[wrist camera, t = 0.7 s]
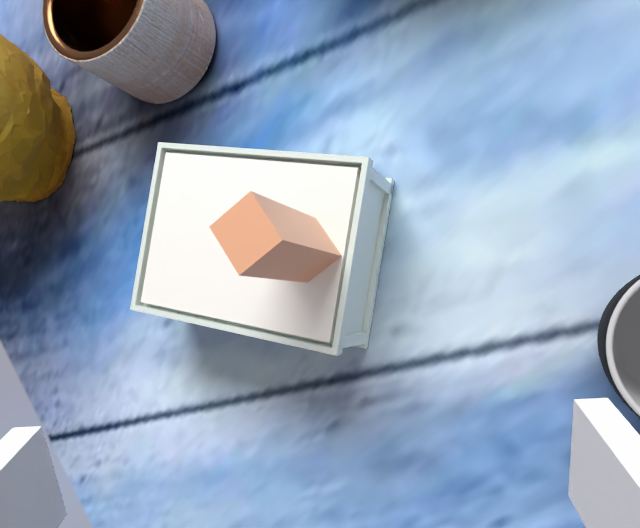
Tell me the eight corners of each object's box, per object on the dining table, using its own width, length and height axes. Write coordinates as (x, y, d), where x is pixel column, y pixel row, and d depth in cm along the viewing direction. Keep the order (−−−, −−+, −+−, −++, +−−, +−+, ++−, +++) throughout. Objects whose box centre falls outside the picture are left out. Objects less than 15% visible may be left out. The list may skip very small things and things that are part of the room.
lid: (361, 170, 35) (303, 123, 26) (333, 342, 35) (265, 354, 26) (172, 155, 41) (71, 112, 32) (147, 302, 41) (39, 301, 32)
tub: (394, 180, 41) (368, 157, 34) (367, 347, 41) (336, 355, 34) (209, 164, 47) (158, 142, 41) (185, 309, 47) (130, 309, 40)
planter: (232, 74, 47) (163, 20, 38) (138, 125, 50) (54, 86, 42) (203, -28, 49) (130, -103, 40) (113, 28, 53) (29, -29, 44)
